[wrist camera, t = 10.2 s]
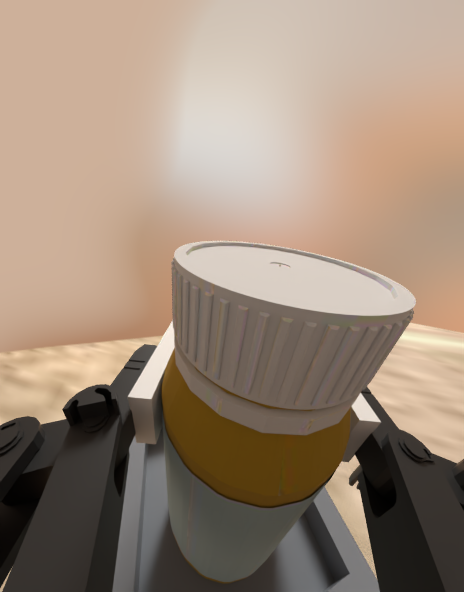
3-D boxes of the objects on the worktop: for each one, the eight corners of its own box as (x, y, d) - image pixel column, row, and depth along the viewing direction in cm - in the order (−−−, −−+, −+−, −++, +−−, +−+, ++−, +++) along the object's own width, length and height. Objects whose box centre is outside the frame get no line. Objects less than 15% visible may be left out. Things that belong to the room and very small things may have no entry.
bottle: (288, 459, 13) (387, 265, 7) (258, 640, 8) (713, 476, 1) (209, 410, 16) (229, 235, 9) (141, 520, 10) (74, 251, 4)
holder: (259, 399, 20) (264, 381, 19) (362, 612, 10) (390, 603, 8) (135, 431, 16) (131, 410, 14) (80, 876, 5) (49, 940, 4)
